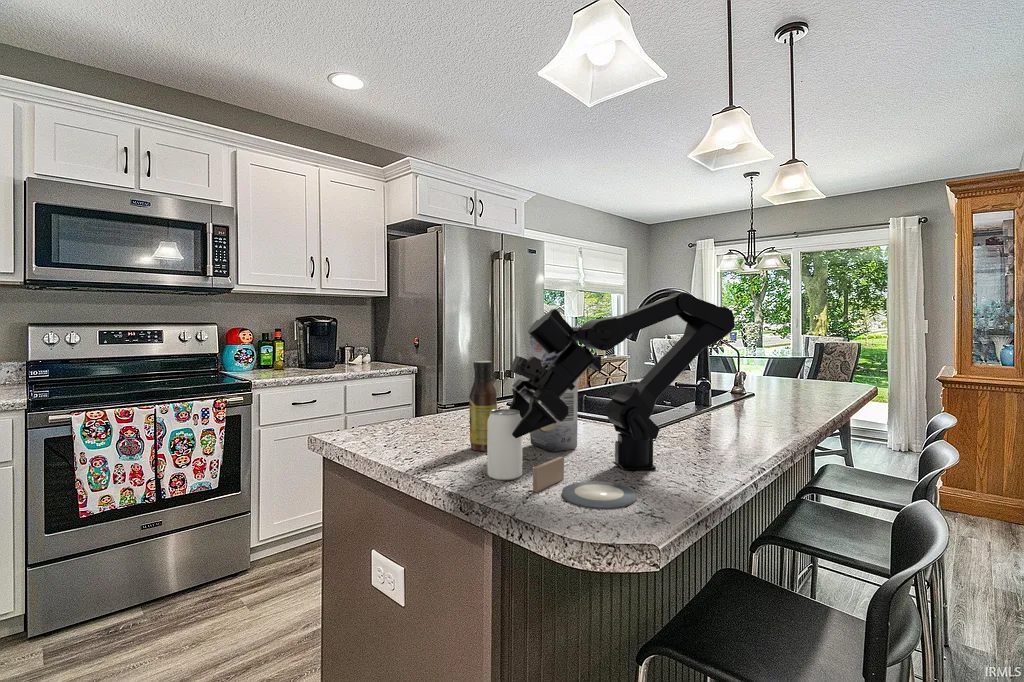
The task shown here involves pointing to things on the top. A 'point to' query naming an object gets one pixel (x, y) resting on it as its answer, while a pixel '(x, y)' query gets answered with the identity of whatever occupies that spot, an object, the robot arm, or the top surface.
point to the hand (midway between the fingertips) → (507, 431)
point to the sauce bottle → (481, 404)
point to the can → (504, 445)
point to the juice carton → (560, 432)
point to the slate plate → (599, 494)
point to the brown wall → (548, 474)
